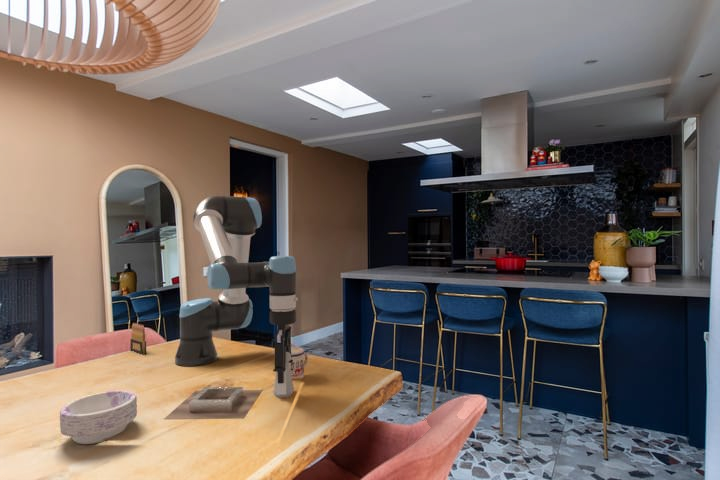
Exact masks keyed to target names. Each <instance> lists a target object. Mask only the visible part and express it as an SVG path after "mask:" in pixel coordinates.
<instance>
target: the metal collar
mask: <svg viewBox="0 0 720 480" xmlns="http://www.w3.org/2000/svg"><path fill="white" fill-rule="evenodd" d="M243 390H244V386H221V387H220V386H218V387H217V386H210V387H207V386H206V387H204V388H202V389H201V390H199V391H200V392H199V393H198V394H197V395H196V396H195V397H194V398H193V399H192V400H191V401H190V402H189V412H204V411H232V410H233V408H234V407H235V406H236V405H237V403H238V402H239V401H240V399H241V398H242V397H243ZM208 398H228V399H221V400H207V399H208Z"/></svg>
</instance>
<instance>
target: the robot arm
mask: <svg viewBox="0 0 720 480" xmlns="http://www.w3.org/2000/svg"><path fill="white" fill-rule="evenodd" d="M192 219H193V221H192V222H193V224H194V228H195V229H196V230H197V231H198V232H199V233H200V235H201V238H202V242H203V245H204V248H205V250H206V253H207V256H208V259H209V262H210V264H209V265H208V266H207V271H206V279H207V285H208V288H210V289H211V290H222V292H221V293H220V294H219V295H218V300H217V301H213V299H212V298H210V297H209V298H208V297H204V298H198V299H192V300H188V301H186V302H183V303H182V304H181V305H180V307H179V344H178V347H177V350H176V353H175V357H174V364H175V365H177V366H183V367H193V366H194V367H195V366H202V365H207V364H211V363H214V362H215V361H217V359H218V351H217V348H216V346H215V343H214V341H213V332H218V331H219V332H220V331H228V330H230V331H231V330H239V329H244V328H247V327H248V326H249V325H250V324H251V322H252V319H253V313H254V312H253V311H254V309H253V307H254V305H253V302H252V300H251V299H250V298H249V295H248V294H247V291H246V289H248V288H264V287H265V288H266V287H269V309H270V311H269V323H270V324H271V325H274V326H276V330H275V332H274V336H273V339H274V368H273V369H272V372H276V373H275V377H276V394H286V368H285V365H286V352H289V353H290V354H291V342H292V326H291V325H292V324H296V323H297V310H296V307H297V302H298V301H299V299H298V297H296V294H297V288H296V287H297V265H296V258H295V257H294V256H292V255H288V256H287V255H279V256H278V255H276V256H275V255H274V256H271V257H270V258H269V261H262V262H259V261H258V262H257V261H256V262H249V257H250V245H251V238H252V236H255V234H256V229H258V228H259V229H260V227H261V226H262V223H263V222H262V220H263V215H262V209H261V205H260V202H259V201H258V200H257V199H256V198H255V197H249V196H237V195H236V196H234V195H233V196H232V195H229V196H227V195H210V196H208V197H206V198H205V199H203V200H201V201H200V202H199V203H198V204H197V206H196V207H195V208H194V211H193V215H192ZM291 357H292V356H291ZM289 363H293V360H290V361H289ZM289 367H290V364H289Z"/></svg>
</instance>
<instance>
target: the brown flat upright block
mask: <svg viewBox="0 0 720 480" xmlns="http://www.w3.org/2000/svg"><path fill="white" fill-rule="evenodd" d="M130 333H131V335H130V337H131V338H130V344H129V345H130V347H129V348H130V349H129V351H130V352H132V351H134V352H133V353H135V352H136V354H138V353H139V355H141V354H143V355H147V341H146V332H145V326H144V324H140V323H136V322H133V323H132V325H131V332H130Z"/></svg>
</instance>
